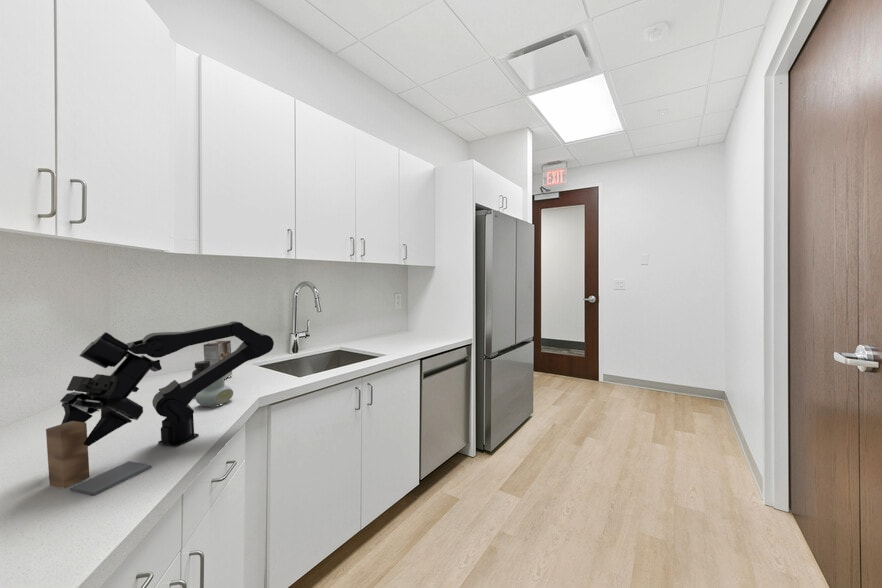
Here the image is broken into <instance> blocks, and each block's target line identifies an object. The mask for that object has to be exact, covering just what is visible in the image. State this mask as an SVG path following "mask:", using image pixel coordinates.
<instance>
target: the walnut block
mask: <svg viewBox="0 0 882 588" xmlns="http://www.w3.org/2000/svg"><path fill="white" fill-rule="evenodd" d="M45 435H46V450H47V454H46V455H47V463H48V464H47V465H48V480H49V481H48V483H49V486H50V487H51V486H52V487H54V488H55V487H56V488H61V489H65V488H69V487H71V486H72V485H73V486H74V485H76V484H78V483H80V482H83V480H84V481H85V480H87V479H88V478H90V462H89V461H90V460H89V446H86V445H84V442H85V440H86V439H87V437H88V427H87V422H77V421H70V422H67V423H64V424H57V425H54V426H51V427H48V428H45Z"/></svg>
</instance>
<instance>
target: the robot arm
mask: <svg viewBox="0 0 882 588" xmlns="http://www.w3.org/2000/svg"><path fill="white" fill-rule="evenodd" d="M230 337H235V338H237V339H239V340H240V341H242V342H241V344H239V345H238V347H237V348H236V349H235V350H233V351H231V354H229V355H228V356H226V357H224V358H223V359H221V360H220V361H218V362H216V363H215V364H213V365H212V366H210V367H208V368H207V369H205V370H204V371H202V372H200V373H199V374H197V375H196V376H194V377H193V378H192V377H191V378H190V379H188V380H186V381H183V382H178V381H177V380H176V379H173V380H172V381H171V382H170V383H169V384H167V385H166V386H164V387H161V388H158V392H157V393H156V394H155V395H154V396H153V397H152V398H153V399H152V402H151V403H152V406H153V408H154V410H155V411H156V413H157V414H158V415H159V416H161V417H164V419H163V420H161V427H160V438H161V439H160V440H159V441H157V443H158V445H165V446H173V447H178V446H180V445H182V444H184V443H186V442H189V441H191V440H193V439H195V438H197V437H199V433H195V424H194V423H195V422H194V421H195V420H194V413H195V410H194V409H193V408H192V407H191V405H189V404H190V403H191V402H192V401H193V400H194V398H196V395H197V394H198V393H199V392H201V391H202V390H204V389H205V388H207V387H208V386H210V385H211V384H213V383H214V382H216V381H217V380H219V379H220V378H222V377H223V376H225V375H226V374H228V373H229V372H231V371H232V372H233V371H234V370H236V369H237V368H239V367H240V366H241V365H243V364H245V363H247V362H249V361H252V360H254V359H255V360H256V359H258V358H260V357H263V356H264V355H267V354H268V353H270V352H271V351H272V350H274V344H275V342H274V340H273V338H272V337H271V336H270V335H268V334H265V333H260V332H257V331H255V330H253V329H252V328H250V327H248V326H247V325H245V324H243V322H241V321H236V320H235V321H234V320H233V321H230V322H227V323H222V324H216V325H211V326H207V327H201V328H196V329H192V330H191V329H190V330H186V331H185V330H184V331H163V332H151V333H148V334H147V335H145V336H144V337H143V338H142V339H139V340H134V341H131V342H128V343H125V342H123V341H121V340H119V339H118V338H116V337H114V336H113V334H110V333H109V332H103V333H102V334H101V335H100V336H99V337H97V338H96V339H95V340H94V341H91V342H90V343H89V344H88V345H87V346H86V347H85V348H84V349H83V350H82V351H81V352H80V354H79V357H80V358H83V359H84V360H87V361H89V362H91V363H94V364H96V365H97V366H99V367H101V368H104V369H107V368H108V367H110V368H112V367H113V368H115V367H116V366H117V365H118V364H119V365H118V366H117V368H116V369H114V371H113V372H112V373H111V374H110V375H107V374H99V373H96V374H95V375H94V376H93V377H88V376H79V375H73V376H72V378H71V380H70V382H69V384H68V386H67V387H66V391H68V393H66V394H65V395H64V396H63V397H62V398H61V399H60V400H59V402H60V403H61V408H63V410H64V416H63V419H62V421H61V424H64V423H67V422H70V421H77V422H85V423H87V422H88V420H90V419H92V417H93V414H94V413H96V412H97V411H99V410H98V409H101V410H100V419H99V420H98V422H97V423H96V424H95V426H94V427H93V429H92V430H91V431H90V433H89V434H88V435H87V439H86V440H85V442H84V445H86V446H88V447H90V446H91V445H93V444H95V443H96V442H98V441H99V440H101V439H103V438H104V437H106V436H107V435H109V434H111V433H113V432H114V431H116V430H118V429H119V428H121V427H123V426H125V425H127V424H129V423H132V421H133V420H135V421H138V420H139V418H140V417H141V416H142V415H143V413H144V406H142V405H140V404H139V403H137V402H135V401H134V400H132V399H130V398H128V397H129V396H130V394H132V393H137V392H138V391H139V389H140V388H139V387H138V384H139V383H140V382H141V381H142V380H143V379H144V377H145V376H146V375H147V374H148V373H149V371H152V372H158V371H162V365H161V360H160V359H157V358H162V357H165V356H168V355H172V354H173V353H175V352H176V353H177V352H178V351H180V350H182V349H184V348H188V347H190V346H194V345H198V344H205V343H210V342H214V341H219V340H222V339H227V338H230ZM139 355H140V356H139ZM145 355H147V356H149V357H151V358H153V359H154V358H155V359H156V360H153V359H151V358H149V357H147V356H145ZM124 358H125V359H124ZM122 360H123V361H122ZM61 424H60V425H61Z"/></svg>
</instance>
